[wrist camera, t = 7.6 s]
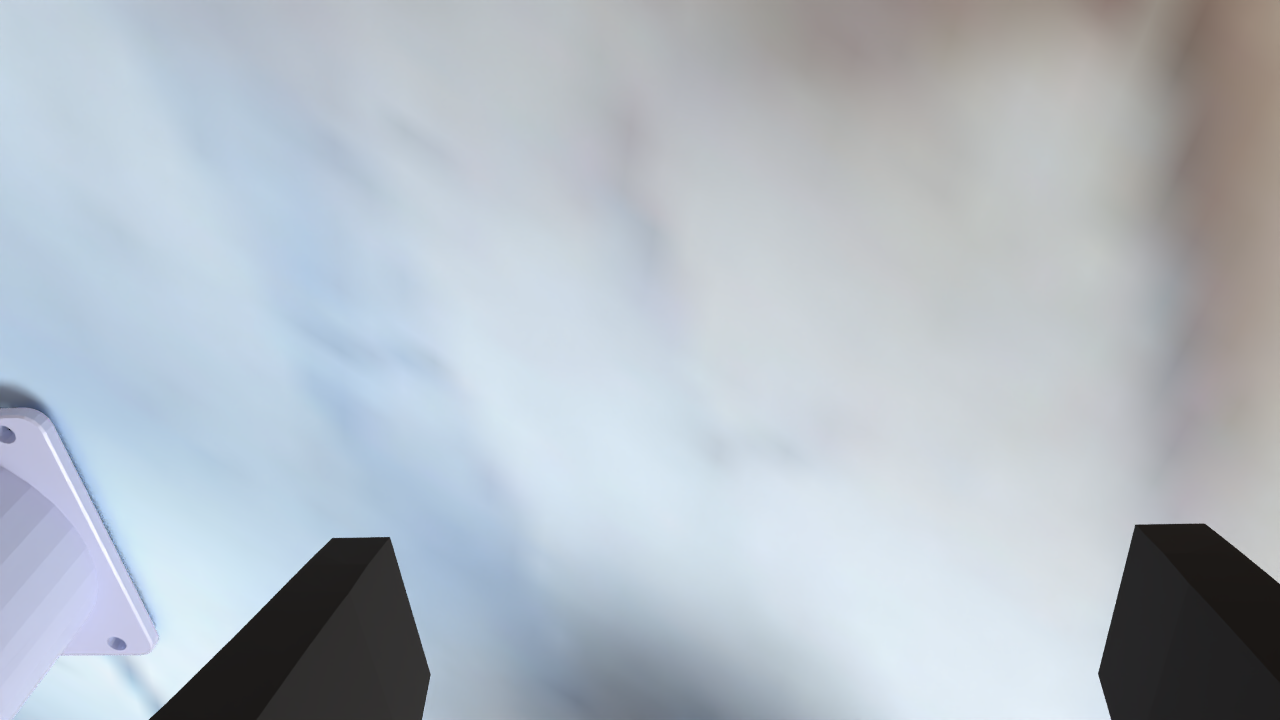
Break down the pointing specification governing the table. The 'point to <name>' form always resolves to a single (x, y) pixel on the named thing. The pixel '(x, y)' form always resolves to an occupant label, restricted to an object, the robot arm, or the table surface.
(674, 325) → the table surface
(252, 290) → the table surface
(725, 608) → the table surface
